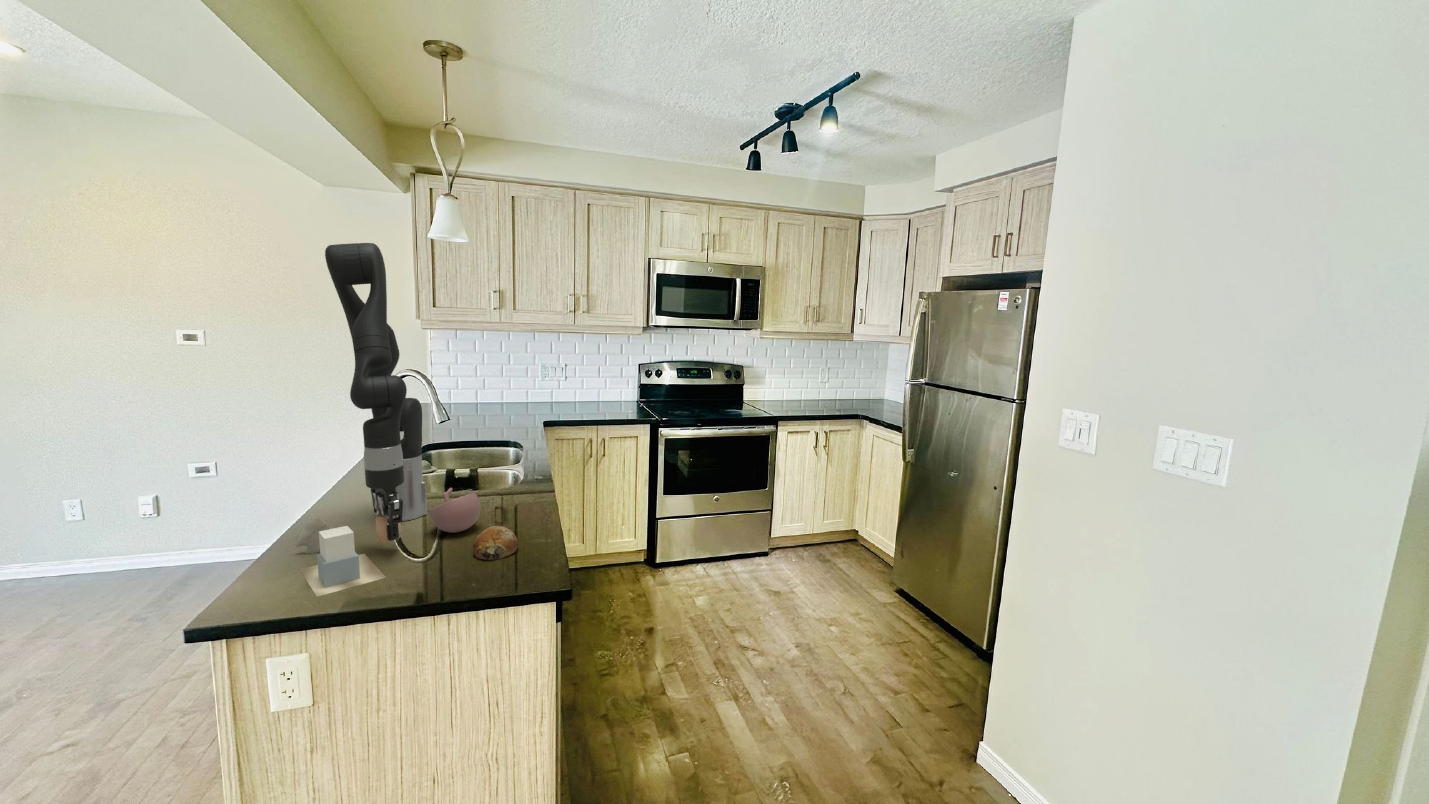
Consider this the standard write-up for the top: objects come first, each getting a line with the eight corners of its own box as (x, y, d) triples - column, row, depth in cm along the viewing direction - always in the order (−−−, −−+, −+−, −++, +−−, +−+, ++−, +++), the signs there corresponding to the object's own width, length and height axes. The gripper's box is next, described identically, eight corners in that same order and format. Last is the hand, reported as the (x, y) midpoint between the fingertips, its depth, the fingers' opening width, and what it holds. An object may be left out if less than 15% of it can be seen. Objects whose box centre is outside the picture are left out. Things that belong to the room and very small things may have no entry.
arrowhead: (295, 562, 124) (292, 520, 123) (297, 558, 127) (294, 516, 125) (338, 556, 128) (335, 515, 127) (339, 552, 130) (336, 511, 129)
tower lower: (352, 568, 119) (350, 546, 118) (360, 578, 115) (358, 555, 114) (318, 577, 115) (316, 554, 114) (325, 587, 111) (323, 564, 110)
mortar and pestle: (459, 519, 153) (458, 479, 152) (491, 528, 148) (490, 486, 147) (420, 534, 143) (418, 491, 141) (452, 543, 138) (450, 499, 136)
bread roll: (521, 564, 136) (530, 531, 138) (494, 562, 126) (504, 527, 128) (488, 557, 139) (497, 525, 141) (460, 555, 129) (470, 521, 132)
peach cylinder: (396, 531, 131) (395, 511, 130) (404, 537, 128) (403, 517, 127) (374, 537, 127) (372, 516, 127) (381, 543, 124) (379, 522, 123)
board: (364, 559, 127) (364, 553, 127) (386, 584, 116) (386, 577, 116) (300, 575, 119) (299, 569, 118) (317, 603, 108) (316, 596, 107)
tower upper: (348, 548, 118) (347, 525, 117) (355, 555, 114) (353, 532, 114) (320, 554, 114) (318, 531, 114) (326, 562, 111) (324, 538, 110)
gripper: (413, 468, 123) (418, 540, 125) (391, 454, 132) (396, 522, 135) (375, 474, 117) (381, 550, 120) (355, 460, 127) (360, 531, 130)
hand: (389, 535), depth 127 cm, fingers closed on peach cylinder, 4 cm apart
